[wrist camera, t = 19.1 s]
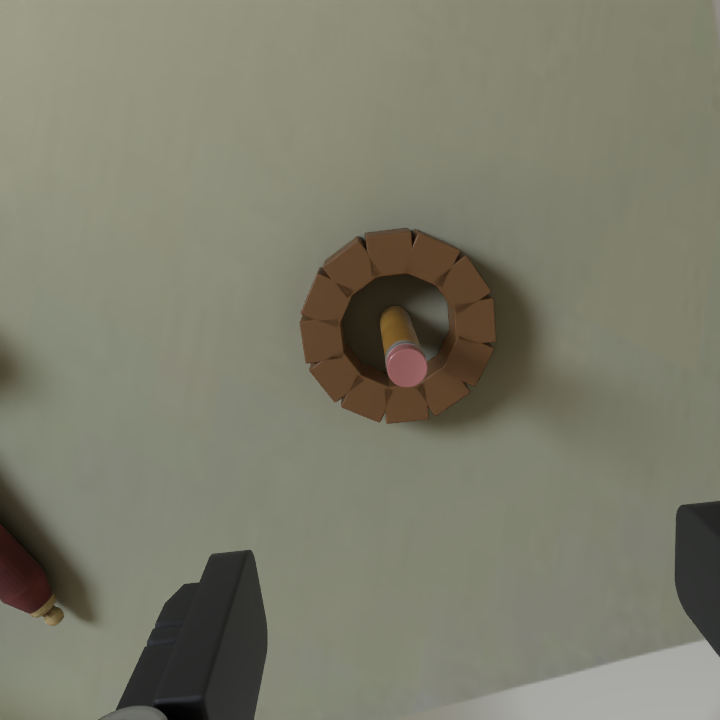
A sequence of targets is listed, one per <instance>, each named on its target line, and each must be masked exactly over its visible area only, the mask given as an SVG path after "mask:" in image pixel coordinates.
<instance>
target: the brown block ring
mask: <svg viewBox="0 0 720 720" xmlns="http://www.w3.org/2000/svg"><path fill="white" fill-rule="evenodd" d="M365 239H366V245H365V244H364V243H363V241H362V240H361V239H360V237H359V236H357V237H356V238H354V239H353V240H352V241H350V242H349V243H348V244H347V245H345V246H344V247H343V248H341V249H340V250H339V251H337V252H336V253H335V254H333V255H332V256H331V257H329V258H328V259H327V260H325V262H324V265H323V268H321V267H320V268H319V270H318V272H317V275H316V277H315V280H314V282H313V284H312V287H311V289H310V292H309V294H308V297H307V299H306V301H305V304H304V306H303V309H302V311H301V314H302V315H303V316H302V318H301V320H300V328H301V335H302V341H303V348H304V355H305V362H306V363H311V365H310V369H309V371H310V372H311V374H312V375H313V376H314V377H315V378H316V380H317V381H318V382H319V383H320V385H321V386H322V387H323V388H324V390H325V391H326V392H327V393H328V395H329V396H330V397H331V398H332V400H333V401H334V402H337V401H338V400H340V399H341V398H342V401H341V407H342V408H344V409H347V410H349V411H352V412H354V413H357V414H359V415H362V416H364V417H367V418H369V419H372V420H374V421H377V422H380V421H381V419H382V417H383V415H384V413H385V414H386V422H387V424H389V423H398V422H407V421H416V420H425V419H429V413H428V407H429V408H430V410H431V411H432V412H433V414H434V415H435V416H437V415H438V414H440V413H441V412H443V411H444V410H446V409H447V408H449V407H450V406H451V405H453V404H454V403H456V402H457V401H459V400H460V399H462V398H463V397H465V396H466V395H468V394H469V393H470V390H469V388H468V386H467V385H466V383H467V384H470V385H472V386H476V385H477V383H478V381H479V379H480V377H481V375H482V373H483V371H484V369H485V367H486V365H487V363H488V361H489V359H490V357H491V355H492V353H493V351H494V348H493V347H492V345H491V344H490V343H489V342H496V326H495V310H494V299H493V298H492V297H491V296H489V295H488V294H489V293H490V292H491V290H490V289H489V287H488V286H487V284H486V283H485V281H484V280H483V279H482V277H481V276H480V274H479V273H478V271H477V270H476V268H475V267H474V266H473V264H472V263H471V261H470V260H469V258H468V257H467V256H466V255H465V254H463V253H461V252H460V250H459V249H457V248H456V247H454V246H452V245H450V244H448V243H446V242H443V241H441V240H439V239H437V238H434V237H432V236H430V235H428V234H425V233H423V232H421V231H419V230H416V229H414V231H413V233H411V231H410V230H409V229H407V228H402V229H393V230H385V231H377V232H368V233H365ZM400 274H410V275H412V276H415V277H417V278H419V279H422V280H424V281H426V282H429V283H431V284H433V285H435V286H436V287H437V288H438V290H439V291H440V292H441V294H442V295H443V297H444V298H445V299H446V301H447V305H448V317H449V332H448V334H447V336H446V338H445V340H444V342H443V344H442V346H441V348H440V350H439V352H438V354H437V355H436V356H435V357H433V358H432V359H430V360H429V361H427V365H428V370H427V374H426V376H425V378H424V379H423V381H422V382H420V383H419V384H418V385H416V386H413V387H401V386H398V385H396V384H395V383H394V382H392V380H391V379H390V378H389V376H388V373H385V372H383V371H380V370H378V369H375V368H373V367H371V366H368V365H366V364H363V363H362V362H361V361H360V360H359V359H358V357H357V356H356V355H355V353H354V352H353V351H352V350H351V348H350V347H349V346H348V344H347V343H346V342H345V336H344V328H343V320H342V319H343V317H344V314H345V312H346V310H347V307H348V305H349V303H350V300H351V298H352V296H353V295H354V294H355V293H357V292H358V291H359V290H361V289H362V288H363V287H365V286H366V285H367V284H369V283H370V282H371V281H373V280H374V279H376V278H377V277H383V276H392V275H400Z"/></svg>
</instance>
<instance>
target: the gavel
mask: <svg viewBox="0 0 720 720" xmlns="http://www.w3.org/2000/svg"><path fill="white" fill-rule="evenodd" d="M0 600H1V601H2V602H3V603H5V604H8V605H10V606H12V607H15V608H17V609H20V610H22V611H24V612H27V613H29V614H30V615H31V616H32V617H35V618H38V617H40V616H43V617H44V620H45V622H46V623H47V624H48V625H50V626H55V625H57V624H58V623H60V622H61V620H62V619H63V618H64V613H63V611H62V610H61V609H60V608H58V607H55V606H54V604H55V602H56V596H55V594H54V593H53V592H52V590H51V587H50V585H49V582H48V580H47V577H46V575H45V572H44V570H43V568H42V567H41V566H40V565H39V564H38V563H37V562H36V561H35V560H34V559H33V558H32V556H31V555H30V554H29V553H28V552H27V551H26V550H25V549H24V548H23V547H22V546H21V545H20V544H19V543H18V542H17V541H16V540H15V539H14V538H13V536H12V535H11V534H10V533H9V532H8V531H7V530H6V529H5V528H4V527H3V526H2V525H1V524H0Z"/></svg>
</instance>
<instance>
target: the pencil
mask: <svg viewBox="0 0 720 720" xmlns="http://www.w3.org/2000/svg"><path fill="white" fill-rule="evenodd" d="M379 322H380V329H381V335H382V341H383V348H384V354H385V364H386V368H387V373H388V376H389V378H390V379H391V380H392V382H394V383H395V384H396V385H398V386H401V387H413V386H416V385H418V384H419V383H420V382H422V381H423V379H424V378H425V376H426V374H427V370H428V365H427V361H426V358H425V355H424V352H423V350H422V348H421V346H420V343H419V340H418V338H417V335H416V333H415V330H414V328H413V325H412V323H411V320H410V317H409V315H408V313H407V311H406V310H405V309H403V308H402V307H399V306H390V307H388V308H386V309H385V310H384V311H383V312H382V313H381V315H380V320H379Z"/></svg>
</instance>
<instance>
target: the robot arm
mask: <svg viewBox="0 0 720 720" xmlns="http://www.w3.org/2000/svg"><path fill="white" fill-rule="evenodd" d="M675 585H676V590H677V594H678V597H679V600H680V602H681V605H682V607H683V609H684V610H685V612H686V614H687V615H688V616H689V618H690V619H691V620H692V622H693V623H694V624H695V625H696V627H697V628H698V629H699V631H700V632H701V633H702V635H703V636H704V637H705V638H706V640H707V641H708V642H709V644H710V645H711V646H712V648H713V649H714V650H715V651H716V653H717V654H718V655H719V657H720V501H715V502H706V503H696V504H687V505H681V506H680V507H679V508H678V510H677V514H676V542H675ZM266 654H267V622H266V616H265V610H264V605H263V600H262V594H261V589H260V584H259V578H258V573H257V568H256V562H255V558H254V555H253V553H252V551H251V550H244V551H235V552H226V553H216V554H212V555H211V556H210V557H209V560H208V562H207V565H206V567H205V570H204V572H203V575H202V577H201V580H200V582H199V583H190V584H184V585H183V586H182V587H181V588H180V589H179V590H178V591H177V592H176V593H175V594H174V595H173V596H172V597H171V598H170V599H169V600H168V601H167V602H166V603H165V604H164V606H163V609H162V611H161V613H160V615H159V617H158V619H157V622H156V624H155V629H153V630H152V632H151V635H150V637H149V639H148V641H147V647H145V648H144V650H143V652H142V654H141V656H140V658H139V661H138V663H137V665H136V667H135V669H134V671H133V674H132V676H131V678H130V680H129V682H128V684H127V687H126V689H125V691H124V693H123V695H122V697H121V700H120V702H119V704H118V706H117V708H116V710H115V711H113V712H111V713H109V714H107V715H105V716H103V717H101V718H100V719H98V720H254V715H255V710H256V705H257V700H258V695H259V690H260V685H261V680H262V675H263V669H264V664H265V659H266Z"/></svg>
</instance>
